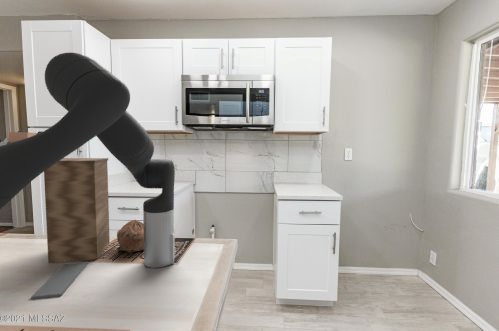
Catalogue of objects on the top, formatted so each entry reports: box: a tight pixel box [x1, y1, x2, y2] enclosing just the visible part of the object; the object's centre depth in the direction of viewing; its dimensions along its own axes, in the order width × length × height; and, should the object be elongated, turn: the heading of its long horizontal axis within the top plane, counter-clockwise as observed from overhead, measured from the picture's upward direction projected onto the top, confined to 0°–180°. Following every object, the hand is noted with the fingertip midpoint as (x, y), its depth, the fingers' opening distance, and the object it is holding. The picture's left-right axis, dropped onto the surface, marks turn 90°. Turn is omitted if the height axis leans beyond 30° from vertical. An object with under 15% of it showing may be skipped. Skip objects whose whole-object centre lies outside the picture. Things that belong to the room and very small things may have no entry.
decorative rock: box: [116, 219, 144, 254], centre depth 94 cm, size 13×11×10 cm
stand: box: [43, 157, 111, 264], centre depth 89 cm, size 15×15×32 cm
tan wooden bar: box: [8, 131, 38, 143], centre depth 68 cm, size 4×22×4 cm, turn 13°
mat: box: [30, 261, 89, 300], centre depth 73 cm, size 6×18×1 cm, turn 13°
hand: (32, 134), depth 62 cm, fingers closed on tan wooden bar, 3 cm apart
